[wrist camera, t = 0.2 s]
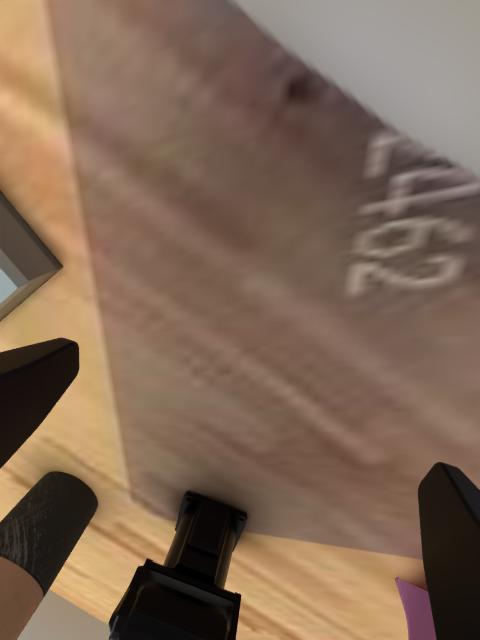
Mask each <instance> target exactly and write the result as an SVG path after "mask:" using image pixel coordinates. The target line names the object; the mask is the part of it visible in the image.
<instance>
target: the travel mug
mask: <svg viewBox="0 0 480 640" xmlns="http://www.w3.org/2000/svg"><path fill="white" fill-rule="evenodd" d="M97 505H98V504H97V499H96V497H95V495H94V493H93V492H92V490H91V489H90V488H89V487H88V486H87V485H86V484H84V483H83V482H82V481H80V480H79V479H77V478H75V477H73V476H71V475H69V474H66V473H61V472H51V473H48V474H46V475H45V476H43V477H42V478H41V479H40V480H39V481H38V482H37V483H36V484H35V486H34V487H33V488H32V489H31V490H30V491H29V492H28V493H27V494H26V495H25V496H24V497H23V498H22V499H21V500H20V502H19V503H18V504H17V505H16V506H15V507H14V508H13V509H12V510H11V511H10V512H9V513H8V514H7V515H6V517H5V518H4V519H3V520H2V521H1V522H0V640H17V638H18V637H19V635H20V634H21V632H22V631H23V629H24V628H25V626H26V624H27V623H28V621H29V620H30V618H31V617H32V615H33V614H34V612H35V610H36V609H37V607H38V606H39V604H40V603H41V601H42V600H43V598H44V596H45V595H46V593H47V591H48V590H49V588H50V587H51V585H52V583H53V582H54V580H55V578H56V577H57V575H58V573H59V572H60V570H61V568H62V567H63V565H64V563H65V562H66V560H67V558H68V557H69V555H70V553H71V552H72V550H73V548H74V547H75V545H76V543H77V542H78V540H79V539H80V537H81V535H82V534H83V532H84V530H85V529H86V527H87V525H88V524H89V522H90V520H91V519H92V517H93V515H94V513H95V512H96V509H97Z"/></svg>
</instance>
